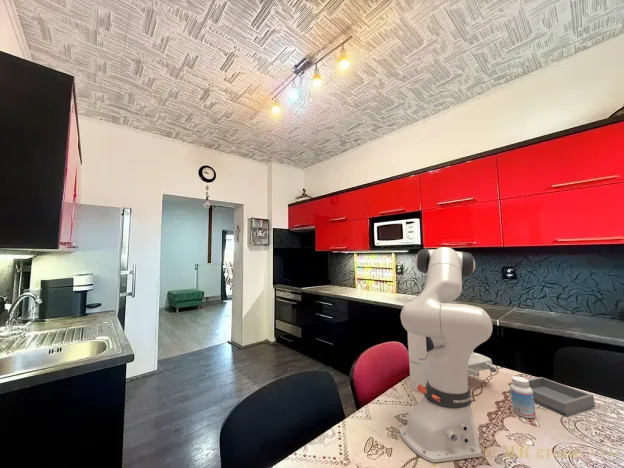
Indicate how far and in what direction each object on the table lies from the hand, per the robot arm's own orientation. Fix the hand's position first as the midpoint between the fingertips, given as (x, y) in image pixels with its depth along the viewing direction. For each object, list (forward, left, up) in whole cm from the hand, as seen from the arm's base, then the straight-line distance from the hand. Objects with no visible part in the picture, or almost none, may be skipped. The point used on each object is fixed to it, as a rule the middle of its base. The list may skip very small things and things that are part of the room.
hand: (486, 372), depth 100 cm
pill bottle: (0, -13, -9) cm, 15 cm away
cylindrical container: (-20, +14, -9) cm, 26 cm away
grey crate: (+19, -11, -9) cm, 23 cm away
